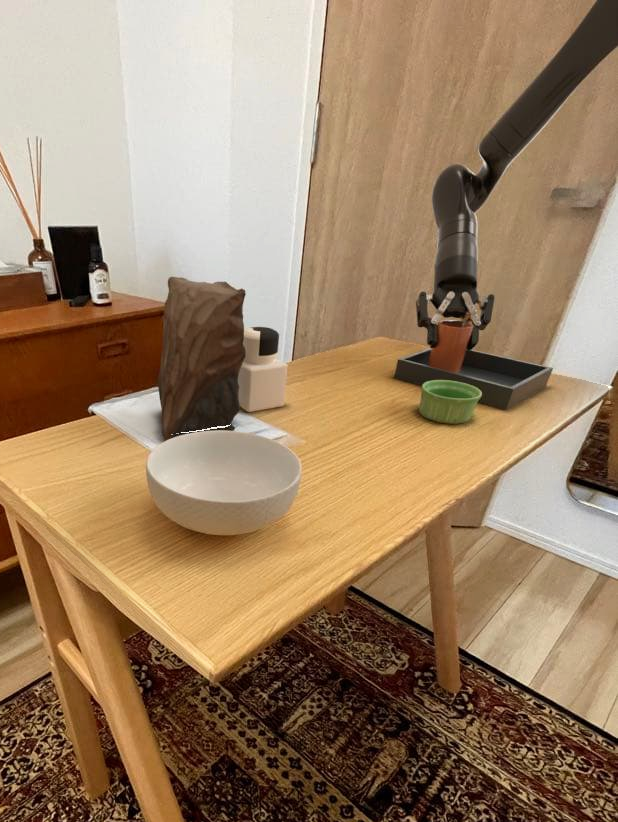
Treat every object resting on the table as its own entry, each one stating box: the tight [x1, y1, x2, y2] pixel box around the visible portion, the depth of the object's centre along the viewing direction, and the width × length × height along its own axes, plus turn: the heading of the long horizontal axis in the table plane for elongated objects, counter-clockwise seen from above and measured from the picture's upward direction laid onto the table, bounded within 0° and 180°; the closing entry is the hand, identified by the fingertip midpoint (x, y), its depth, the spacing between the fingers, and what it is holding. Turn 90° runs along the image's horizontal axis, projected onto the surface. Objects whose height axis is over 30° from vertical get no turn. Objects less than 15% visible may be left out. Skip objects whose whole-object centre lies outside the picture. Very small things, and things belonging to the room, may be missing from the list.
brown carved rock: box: [157, 276, 247, 442], centre depth 72 cm, size 13×13×20 cm
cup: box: [427, 319, 474, 374], centre depth 95 cm, size 6×6×9 cm
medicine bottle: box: [238, 326, 288, 413], centre depth 81 cm, size 7×7×12 cm
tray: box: [393, 347, 554, 411], centre depth 93 cm, size 18×22×4 cm
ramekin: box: [418, 380, 482, 425], centre depth 80 cm, size 9×9×4 cm
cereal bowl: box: [145, 430, 303, 536], centre depth 55 cm, size 17×17×7 cm
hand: (452, 346), depth 93 cm, fingers closed on cup, 6 cm apart
